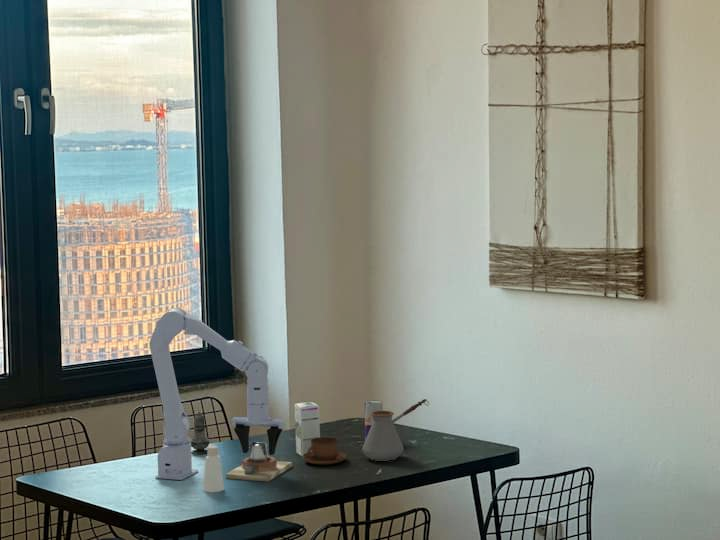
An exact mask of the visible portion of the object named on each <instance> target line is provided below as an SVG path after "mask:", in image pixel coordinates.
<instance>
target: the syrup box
mask: <svg viewBox="0 0 720 540" xmlns="http://www.w3.org/2000/svg"><path fill="white" fill-rule="evenodd" d="M294 422H295V423H294V425H295V427H294V428H295V452H296V454H297V455H299V457H302V458H303V455H304V454H306V453H308V449H309V448H310V447H311V440H312V439H315V438H321V432H320V431H321V428H320V427H321V426H320V405H318V404H317V403H314V402H312V401H309V402H308V401H305V402H299V403H298V402H297V403H294ZM310 452H311V450H310Z"/></svg>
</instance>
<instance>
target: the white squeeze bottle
mask: <svg viewBox="0 0 720 540" xmlns="http://www.w3.org/2000/svg"><path fill="white" fill-rule="evenodd" d="M206 450H207V453H208V454H207V456H205V457H204V459H205V460H204V461H205V462H204V473H203V487H202V488H203V491H204V492H205V493H210V494H211V493H212V494H213V493H220V492H222V491H224V490H225V485H224V478H223V470H222V464H221V463H222V462H221V457H220V455H219V447H218V445H208V447H207V448H206Z"/></svg>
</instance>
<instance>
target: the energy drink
mask: <svg viewBox="0 0 720 540" xmlns="http://www.w3.org/2000/svg"><path fill="white" fill-rule="evenodd" d="M383 405H384V404H383V401H382V400H379V399H370V400H369V399H368V400H366V401H365V402H364V436H365V437H364V439H365V440H366V438H367V435H368V433H369V430H370V428H371V425H372V423H373V417H372V415H371V413H372V412H375V411H384V408H383V407H384V406H383ZM365 440H364V441H365Z"/></svg>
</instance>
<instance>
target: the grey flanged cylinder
mask: <svg viewBox="0 0 720 540" xmlns="http://www.w3.org/2000/svg"><path fill="white" fill-rule="evenodd" d="M193 419H194V421H193V422H194V423H193V427H192V428H193V429H194V432H193V433H194V434H193V435H194V436H193V438H191V448H193V449H194V450H191V455H195V456H200V455H201V456H202V455H206V454H207V455H208V453H207V447H209V446H210V445H209V444H210V441H211V439H210V438H208V437H207V435H206V427H207V426H205V416H204V415H203V414H201V412H200V411H198V412H197V414H196V415H195V416H193Z"/></svg>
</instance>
